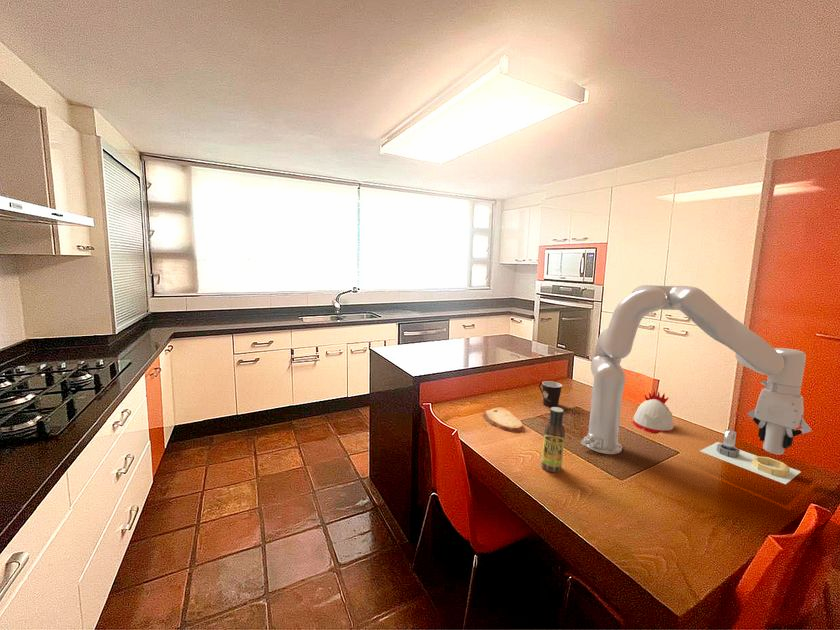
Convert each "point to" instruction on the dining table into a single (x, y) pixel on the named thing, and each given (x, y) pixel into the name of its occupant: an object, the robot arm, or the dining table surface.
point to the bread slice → (503, 420)
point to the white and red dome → (654, 415)
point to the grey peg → (729, 440)
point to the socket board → (747, 463)
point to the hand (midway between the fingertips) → (774, 443)
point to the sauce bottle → (553, 441)
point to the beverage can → (774, 438)
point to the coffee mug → (551, 393)
